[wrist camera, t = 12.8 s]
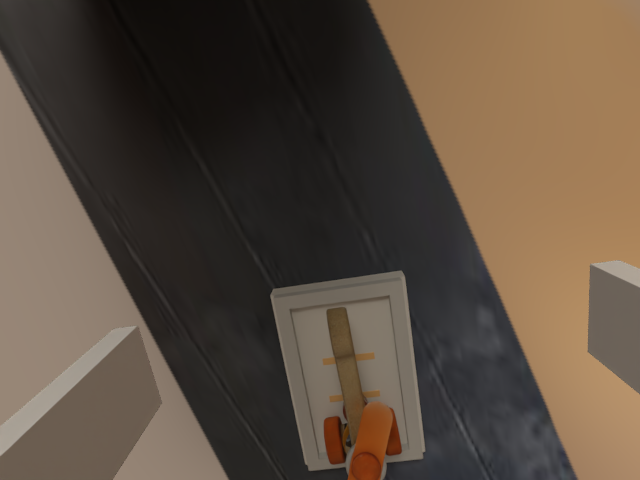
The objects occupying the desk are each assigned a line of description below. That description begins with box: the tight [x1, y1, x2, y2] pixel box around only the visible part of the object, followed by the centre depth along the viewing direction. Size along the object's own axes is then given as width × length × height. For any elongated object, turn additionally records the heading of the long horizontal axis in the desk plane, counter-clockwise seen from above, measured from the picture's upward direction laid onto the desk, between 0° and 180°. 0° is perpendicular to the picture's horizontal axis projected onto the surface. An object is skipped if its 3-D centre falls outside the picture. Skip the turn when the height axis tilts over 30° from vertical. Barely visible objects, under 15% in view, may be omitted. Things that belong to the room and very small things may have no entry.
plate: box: [270, 271, 425, 471], centre depth 44 cm, size 23×15×3 cm, turn 9°
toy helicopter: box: [324, 307, 402, 480], centre depth 36 cm, size 8×21×14 cm, turn 11°
